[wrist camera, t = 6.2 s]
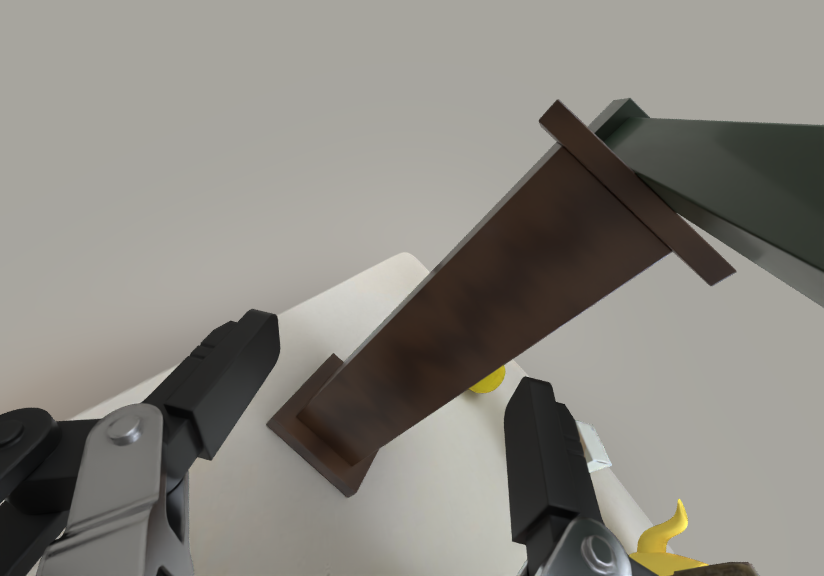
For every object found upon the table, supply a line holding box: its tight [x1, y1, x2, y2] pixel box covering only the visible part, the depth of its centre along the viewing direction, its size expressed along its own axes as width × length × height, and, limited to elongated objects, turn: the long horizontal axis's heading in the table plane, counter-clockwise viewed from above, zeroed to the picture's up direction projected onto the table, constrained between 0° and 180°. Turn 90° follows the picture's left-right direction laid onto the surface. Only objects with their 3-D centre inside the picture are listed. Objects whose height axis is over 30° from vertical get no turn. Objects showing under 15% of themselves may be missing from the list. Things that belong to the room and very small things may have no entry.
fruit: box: [468, 365, 505, 393], centre depth 49 cm, size 6×6×8 cm
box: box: [575, 420, 611, 473], centre depth 44 cm, size 5×4×11 cm
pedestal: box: [266, 100, 736, 497], centre depth 26 cm, size 10×10×32 cm
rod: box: [588, 98, 824, 308], centre depth 13 cm, size 4×24×3 cm, turn 161°
